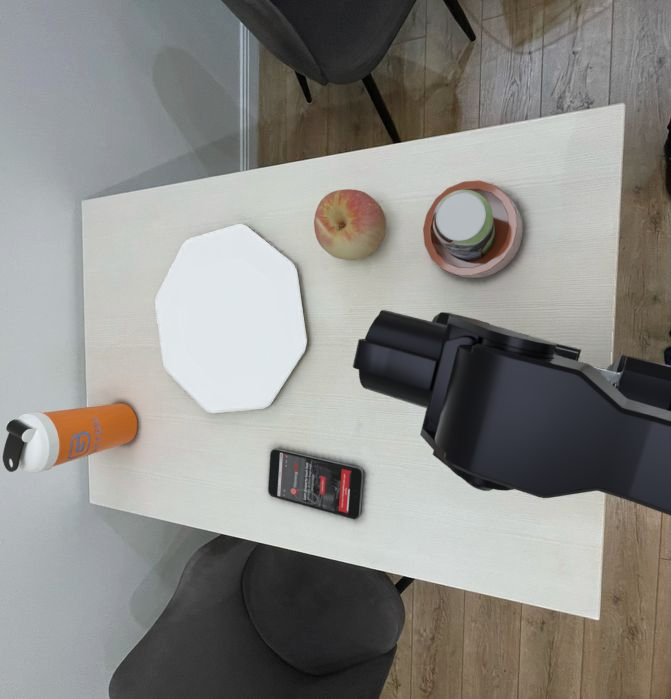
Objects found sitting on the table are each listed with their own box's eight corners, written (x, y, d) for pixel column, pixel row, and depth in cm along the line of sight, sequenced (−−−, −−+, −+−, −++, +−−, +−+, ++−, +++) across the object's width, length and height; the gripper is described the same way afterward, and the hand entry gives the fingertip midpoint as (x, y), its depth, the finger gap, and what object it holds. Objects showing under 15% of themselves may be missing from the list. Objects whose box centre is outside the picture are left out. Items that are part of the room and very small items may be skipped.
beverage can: (439, 227, 67) (406, 210, 56) (494, 195, 63) (470, 171, 53) (460, 272, 66) (431, 264, 55) (517, 243, 63) (498, 227, 52)
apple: (335, 199, 74) (305, 186, 67) (396, 195, 70) (371, 181, 63) (333, 263, 74) (303, 257, 67) (393, 263, 70) (368, 257, 63)
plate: (320, 402, 76) (315, 403, 75) (176, 416, 89) (169, 417, 88) (293, 210, 77) (287, 208, 75) (153, 251, 89) (146, 250, 88)
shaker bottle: (104, 441, 97) (-9, 469, 80) (107, 393, 96) (-7, 410, 79) (140, 453, 93) (29, 485, 76) (144, 403, 92) (32, 424, 75)
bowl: (533, 194, 62) (528, 186, 58) (509, 286, 64) (502, 284, 60) (445, 183, 67) (435, 174, 63) (425, 269, 68) (414, 266, 64)
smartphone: (358, 520, 74) (267, 495, 80) (360, 519, 74) (270, 494, 81) (362, 469, 73) (270, 448, 80) (364, 467, 74) (273, 447, 80)
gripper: (376, 450, 42) (435, 417, 55) (645, 552, 34) (635, 483, 47) (409, 309, 40) (461, 311, 54) (702, 381, 32) (674, 361, 46)
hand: (550, 366), depth 50 cm, fingers open, 9 cm apart
